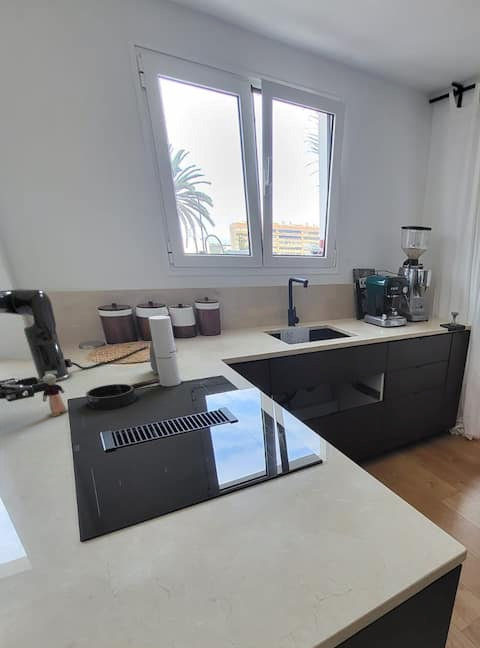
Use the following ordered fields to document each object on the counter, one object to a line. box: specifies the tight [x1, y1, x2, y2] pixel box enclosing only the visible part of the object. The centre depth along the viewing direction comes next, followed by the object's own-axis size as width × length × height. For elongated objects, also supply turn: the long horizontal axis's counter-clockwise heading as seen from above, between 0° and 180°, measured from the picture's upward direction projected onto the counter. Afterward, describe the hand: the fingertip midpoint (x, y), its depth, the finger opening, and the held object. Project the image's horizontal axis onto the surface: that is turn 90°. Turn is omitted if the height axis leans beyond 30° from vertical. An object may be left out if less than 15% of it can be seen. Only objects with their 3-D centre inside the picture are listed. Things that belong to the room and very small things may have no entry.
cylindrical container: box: [147, 315, 182, 387], centre depth 146 cm, size 7×7×25 cm
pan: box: [85, 383, 136, 410], centre depth 132 cm, size 14×14×4 cm
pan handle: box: [129, 377, 160, 390], centre depth 140 cm, size 11×2×2 cm, turn 145°
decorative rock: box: [149, 340, 159, 376], centre depth 159 cm, size 16×7×15 cm, turn 36°
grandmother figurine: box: [41, 374, 67, 417], centre depth 121 cm, size 8×4×13 cm, turn 5°
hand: (42, 383), depth 117 cm, fingers open, 8 cm apart
